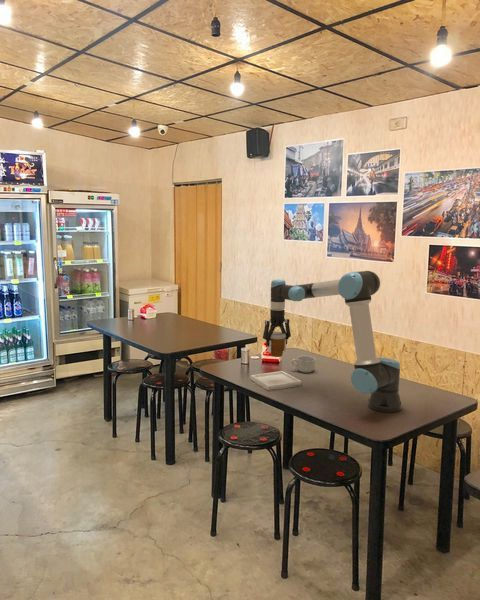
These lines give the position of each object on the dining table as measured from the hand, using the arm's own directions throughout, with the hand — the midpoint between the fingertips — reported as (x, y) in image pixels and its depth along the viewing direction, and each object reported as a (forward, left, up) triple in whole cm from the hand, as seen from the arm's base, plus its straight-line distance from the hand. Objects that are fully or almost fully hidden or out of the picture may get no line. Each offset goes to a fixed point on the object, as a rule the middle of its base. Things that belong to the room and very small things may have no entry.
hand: (276, 351), depth 269 cm
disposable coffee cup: (0, 0, -3) cm, 3 cm away
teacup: (+12, -25, -18) cm, 33 cm away
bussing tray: (0, 0, -17) cm, 17 cm away
